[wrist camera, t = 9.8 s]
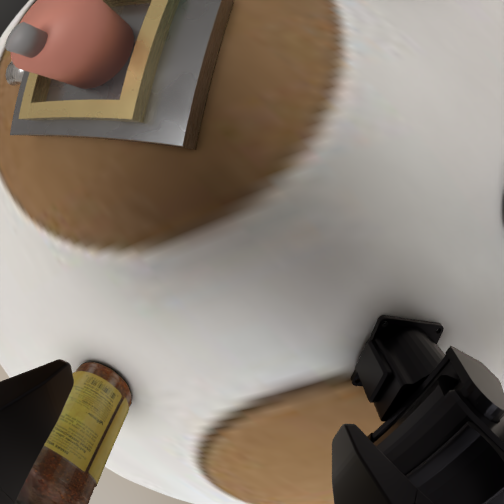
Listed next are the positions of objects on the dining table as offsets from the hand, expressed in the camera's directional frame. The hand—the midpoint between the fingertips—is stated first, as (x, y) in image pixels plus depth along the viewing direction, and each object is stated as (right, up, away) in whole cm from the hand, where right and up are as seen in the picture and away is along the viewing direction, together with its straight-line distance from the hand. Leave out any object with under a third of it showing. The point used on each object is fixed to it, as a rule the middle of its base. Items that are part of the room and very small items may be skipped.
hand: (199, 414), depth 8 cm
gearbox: (-9, +18, +8) cm, 22 cm away
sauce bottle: (-12, -8, +15) cm, 21 cm away
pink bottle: (-8, +17, +5) cm, 19 cm away
